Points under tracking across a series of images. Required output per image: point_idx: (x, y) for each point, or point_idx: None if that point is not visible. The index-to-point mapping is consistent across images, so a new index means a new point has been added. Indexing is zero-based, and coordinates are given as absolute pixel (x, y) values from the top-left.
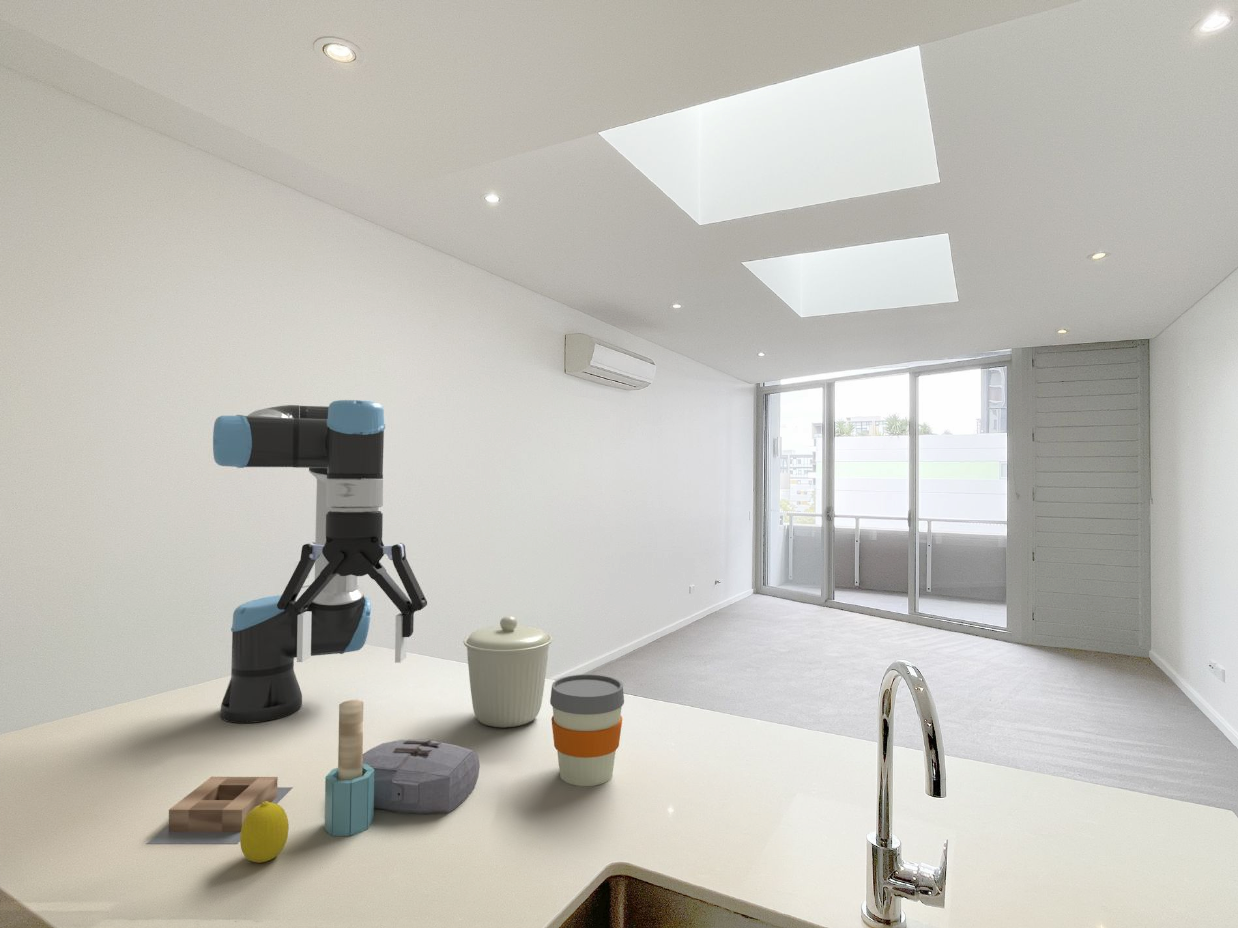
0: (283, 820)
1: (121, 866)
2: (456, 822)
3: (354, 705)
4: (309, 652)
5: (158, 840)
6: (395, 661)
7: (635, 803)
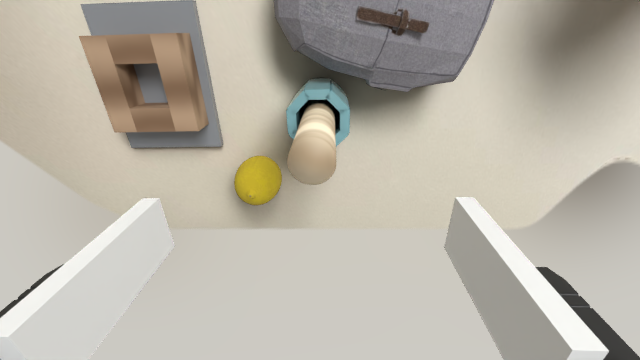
0: (276, 187)
1: (140, 171)
2: (447, 82)
3: (322, 172)
4: (153, 216)
5: (137, 141)
6: (446, 249)
7: None
